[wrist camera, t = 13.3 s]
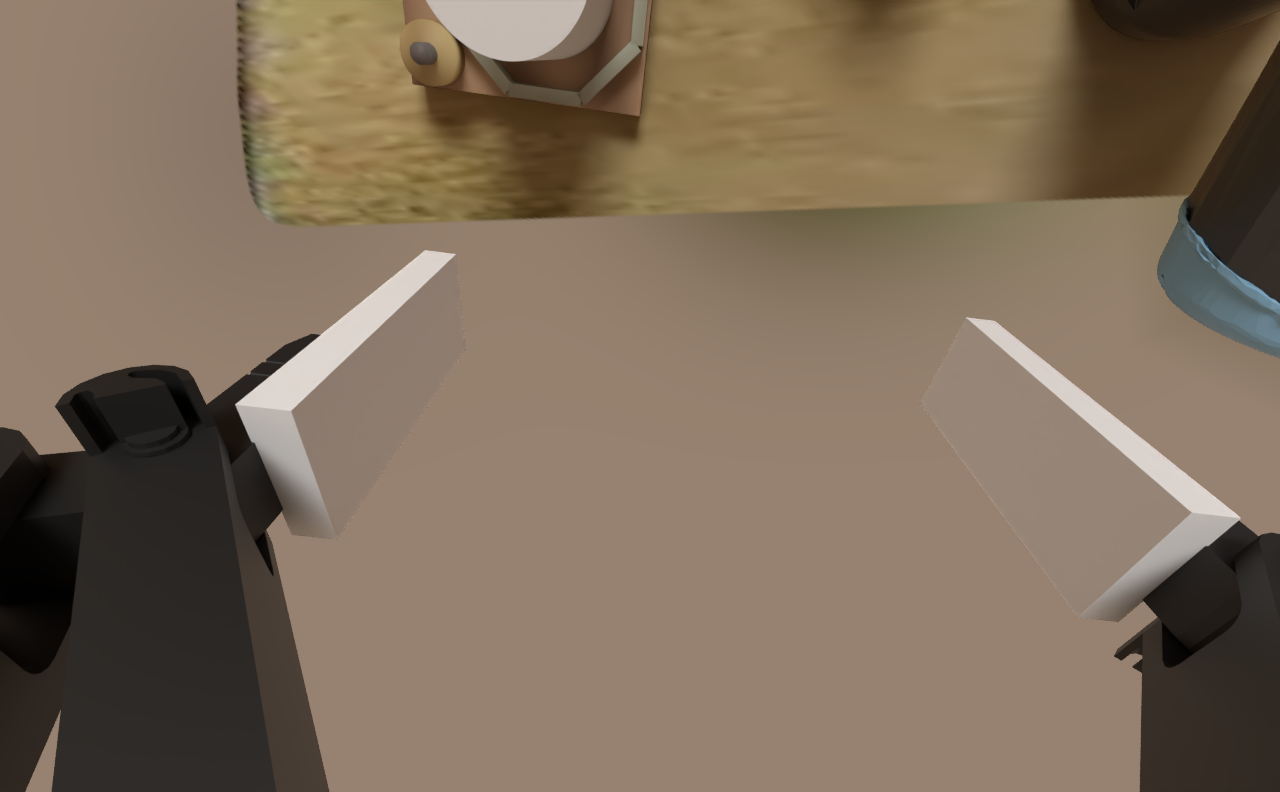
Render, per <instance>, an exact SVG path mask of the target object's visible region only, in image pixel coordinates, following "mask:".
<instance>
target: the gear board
mask: <svg viewBox="0 0 1280 792" xmlns="http://www.w3.org/2000/svg"><path fill="white" fill-rule="evenodd" d="M403 7H404V16H405V24H406V26H405V28H404V29H403V31H402V33H401V37H400V52H401V57H402V60H403V62H404V64H405V66H406V68H407V69H408V71H409V72H410V73H411V75H412V82H413V84H415V85H422V86H429V87H436V88H443V89H451V90H458V91H465V92H472V93H479V94H486V95H493V96H500V97H507V98H514V99H521V100H528V101H535V102H542V103H550V104H557V105H564V106H571V107H578V108H585V109H592V110H599V111H606V112H613V113H620V114H627V115H634V116H640V113H641V103H642V94H643V84H644V75H645V65H646V56H647V46H648V37H649V27H650V18H651V8H652V0H613V4H612V8H611V12H610V15H609V18H608V21H607V23H606V25H605V27H604V29H603V31H602V32H601V34H600V35H599V37H598V38H597V39H596V40H595V42H594V43H593V44H592V45H591V46H590V47H588V48H587V49H586V50H585V51H583V52H581V53H580V54H578V55H576V56H573V57H570V58H566V59H559V60H536V61H502V60H497V59H493V58H490V57H487V56H484V55H482V54H480V53H478V52H476V51H474V50H472V49H471V48H469V47H468V46H466V45H465V44H463V43H462V42H461V41H459V40H458V39H457V38H456V37H455V36H453V35H452V34H451V33H450V32H449V31H448V30H447V29H446V27H445V26H444V25H443V24H442V23H441V22H440V20H439V19H438V18H437V17H436V15H435V14H434V12H433V11H432V9H431V8H430V6H429V5H428V3H427V1H426V0H403Z"/></svg>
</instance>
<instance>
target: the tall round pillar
mask: <svg viewBox="0 0 1280 792" xmlns="http://www.w3.org/2000/svg"><path fill="white" fill-rule="evenodd" d="M426 1H427V3H428V5H429V6H430V8H431V9H432V11H433V12H434V14H435V15H436V17H437V18H438V19H439V20H440V22H441V23H442V24H443V25H444V26H445V27H446V29H447V30H448V31H449V32H450V33H451V34H452V35H453V36H455V37H456V38H457V39H458V40H459V41H461V42H462V43H463V44H465V45H466V46H468V47H469V48H471V49H472V50H474V51H476V52H478V53H480V54H482V55H484V56H487V57H490V58H493V59H497V60H502V61H536V60H559V59H566V58H570V57H573V56H576V55H578V54H580V53H581V52H583V51H585V50H586V49H587V48H588V47H590V46H591V45H592V44H593V43H594V42H595V40H596V39H597V38H598V37H599V35H600V34H601V32H602V31H603V29H604V27H605V25H606V23H607V21H608V18H609V15H610V12H611V8H612V4H613V0H426Z"/></svg>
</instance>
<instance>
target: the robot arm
mask: <svg viewBox="0 0 1280 792" xmlns="http://www.w3.org/2000/svg"><path fill="white" fill-rule="evenodd" d="M1092 2H1093V4H1094V6H1095V8H1096V9H1097V11H1098V13H1099V14H1100V15H1101V17H1102V18H1103V19H1104V20H1105V21H1106V22H1107V23H1108V24H1109V25H1110V26H1111V27H1113V28H1114V29H1115V30H1117V31H1119V32H1120V33H1122V34H1125V35H1127V36H1130V37H1133V38H1137V39H1142V40H1153V41H1160V40H1185V39H1194V38H1201V37H1205V36H1210V35H1214V34H1218V33H1222V32H1225V31H1228V30H1231V29H1234V28H1236V27H1239V26H1241V25H1244V24H1246V23H1249V22H1252V21H1254V20H1257V19H1259V18H1262V17H1264V16H1267V15H1269V14H1272V13H1274V12H1277V11H1279V10H1280V0H1092ZM1178 220H1179V221H1178V223H1177V225H1176V227H1175V229H1174V231H1173V233H1172V235H1171V237H1170V239H1169V241H1168V243H1167V245H1166V247H1165V249H1164V251H1163V253H1162V255H1161V257H1160V260H1159V263H1158V268H1157V275H1158V279H1159V282H1160V284H1161V286H1162V288H1163V289H1164V290H1165V293H1166V295H1167V296H1168V298H1169V299H1170V300H1171V301H1172V302H1173V303H1174V304H1175V305H1176V306H1177V307H1178V308H1180V309H1181V310H1182V311H1183V312H1184V313H1186V314H1187V315H1189V316H1190V317H1191V318H1193V319H1194V320H1196V321H1198V322H1199V323H1201V324H1203V325H1204V326H1206V327H1208V328H1210V329H1211V330H1213V331H1216V332H1217V333H1219V334H1221V335H1223V336H1225V337H1228V338H1230V339H1232V340H1234V341H1236V342H1239V343H1241V344H1243V345H1246V346H1248V347H1250V348H1253V349H1255V350H1258V351H1260V352H1264V353H1266V354H1269V355H1271V356H1274V357H1277V358H1280V41H1279V42H1278V44H1277V46H1276V48H1275V49H1274V51H1273V53H1272V55H1271V57H1270V58H1269V60H1268V62H1267V64H1266V66H1265V67H1264V69H1263V71H1262V73H1261V74H1260V76H1259V78H1258V80H1257V82H1256V83H1255V85H1254V87H1253V89H1252V90H1251V92H1250V94H1249V96H1248V97H1247V99H1246V101H1245V103H1244V104H1243V106H1242V108H1241V109H1240V111H1239V113H1238V115H1237V116H1236V118H1235V120H1234V122H1233V123H1232V125H1231V127H1230V128H1229V130H1228V132H1227V134H1226V135H1225V137H1224V139H1223V141H1222V142H1221V144H1220V146H1219V147H1218V149H1217V151H1216V153H1215V154H1214V156H1213V158H1212V160H1211V161H1210V163H1209V165H1208V166H1207V168H1206V170H1205V172H1204V173H1203V175H1202V177H1201V179H1200V180H1199V182H1198V184H1197V185H1196V187H1195V189H1194V191H1193V192H1192V193H1191V194H1190V196H1189V197H1187V198H1186V199H1185V200H1184V202H1183V203H1182V204H1181V207H1180V209H1179V215H1178ZM464 352H465V339H464V330H463V319H462V310H461V300H460V290H459V280H458V271H457V260H456V254H450V253H441V252H434V251H424V252H423V253H421V254H420V255H419V256H418V257H416V258H415V259H414V260H413V261H412V262H410V263H409V264H408V265H407V266H405V267H404V268H403V269H402V270H401V271H399V272H398V273H397V274H396V275H394V276H393V277H392V278H391V279H389V280H388V281H387V282H386V283H384V284H383V285H382V286H381V287H380V288H378V289H377V290H376V291H375V292H373V293H372V294H371V295H370V296H368V297H367V298H366V299H365V300H363V301H362V302H361V303H360V304H359V305H357V306H356V307H355V308H354V309H352V310H351V311H350V312H349V313H348V314H346V315H345V316H344V317H343V318H341V319H340V320H339V321H338V322H337V323H335V324H334V325H333V326H331V327H330V328H329V329H328V330H326V331H325V332H324V333H323V334H322V335H317V334H310V335H308V336H306V337H303V338H301V339H298V340H296V341H293V342H291V343H289V344H286V345H284V346H283V347H282V348H281V349H279V350H278V351H277V352H275V353H274V354H273V355H271V356H270V357H269V358H267V359H266V362H262V363H261V364H259V365H258V366H257V367H256V368H254V369H253V370H252V371H251V374H250V375H248V374H247V375H245V376H244V377H242V378H241V379H240V380H238V381H237V382H236V383H234V384H233V385H232V386H231V387H229V388H228V389H227V390H225V391H224V392H223V393H222V394H220V395H219V396H217V397H216V398H215V399H214V400H212V401H211V402H210V403H208V404H207V405H206V403H205V401H204V399H203V397H202V395H201V393H200V391H199V388H198V386H197V384H196V382H195V380H194V378H193V377H192V375H191V374H190V373H189V371H188V370H185V369H181V368H178V367H176V366H164V365H149V366H141V367H131V368H126V369H122V370H118V371H114V372H110V373H106V374H103V375H100V376H98V377H95V378H93V379H90V380H88V381H85V382H83V383H80V384H79V385H77V386H76V387H74V388H73V389H71V390H70V391H68V392H66V393H65V394H64V395H63V396H62V397H61V398H60V400H59V401H58V403H57V404H56V406H55V407H56V409H57V410H58V411H59V413H60V414H61V416H62V417H63V419H64V420H65V421H66V423H67V424H68V426H69V427H70V429H71V430H72V431H73V433H74V434H75V436H76V437H77V439H78V440H79V442H80V443H81V445H82V446H83V447H84V449H85V450H86V451H79V452H68V453H57V454H46V455H39V454H38V453H37V452H36V450H35V449H34V448H33V446H32V445H31V444H30V443H29V441H28V440H27V439H26V438H25V436H24V435H23V434H22V433H21V432H20V431H17V430H12V429H8V428H3V427H1V428H0V792H25V791H26V788H27V786H28V784H29V781H30V779H31V777H32V774H33V772H34V770H35V768H36V765H37V763H38V761H39V758H40V756H41V754H42V751H43V749H44V747H45V745H46V742H47V740H48V738H49V735H50V733H51V731H52V728H53V726H54V724H55V721H56V719H57V717H58V715H59V712H60V710H61V715H60V723H59V732H58V741H57V749H56V758H55V767H54V776H53V784H52V785H53V786H52V792H329V789H328V784H327V780H326V775H325V771H324V767H323V762H322V758H321V754H320V749H319V745H318V740H317V736H316V732H315V727H314V723H313V719H312V714H311V710H310V706H309V702H308V697H307V693H306V688H305V684H304V680H303V675H302V671H301V666H300V663H299V658H298V654H297V649H296V645H295V640H294V637H293V632H292V627H291V623H290V619H289V614H288V610H287V606H286V601H285V597H284V592H283V588H282V584H281V579H280V575H279V571H278V567H277V562H276V558H275V553H274V549H273V545H272V542H271V540H270V537H269V535H268V533H267V531H266V529H267V528H268V527H269V526H270V525H271V523H272V522H273V521H274V520H275V519H276V517H277V516H278V515H279V514H280V513H281V511H282V513H283V515H284V518H285V520H286V522H287V525H288V527H289V529H290V532H291V534H292V535H299V536H308V537H317V538H328V539H336V540H337V539H338V538H339V536H340V535H341V533H342V532H343V530H344V529H345V527H346V526H347V524H348V523H349V522H350V520H351V518H352V517H353V516H354V514H355V513H356V511H357V510H358V508H359V507H360V505H361V504H362V502H363V501H364V499H365V498H366V496H367V495H368V493H369V492H370V490H371V489H372V488H373V486H374V485H375V483H376V482H377V480H378V478H379V477H380V475H381V474H382V473H383V471H384V470H385V468H386V467H387V465H388V464H389V462H390V461H391V459H392V458H393V456H394V455H395V454H396V452H397V451H398V449H399V448H400V446H401V445H402V443H403V442H404V440H405V439H406V437H407V436H408V434H409V433H410V431H411V430H412V428H413V427H414V425H415V424H416V423H417V421H418V420H419V418H420V416H421V415H422V414H423V412H424V411H425V409H426V408H427V406H428V405H429V403H430V402H431V400H432V399H433V397H434V396H435V394H436V393H437V392H438V390H439V388H440V387H441V386H442V384H443V383H444V381H445V379H446V378H447V377H448V375H449V374H450V372H451V371H452V369H453V368H454V366H455V365H456V363H457V362H458V360H459V359H460V358H461V356H462V355H463V353H464ZM920 405H921V406H922V407H923V409H924V410H925V411H926V413H927V414H928V415H929V417H930V418H931V419H932V421H933V422H934V424H935V425H936V426H937V428H938V429H939V430H940V432H941V433H942V434H943V436H944V437H945V438H946V440H947V441H948V443H949V444H950V445H951V447H952V448H953V449H954V451H955V452H956V453H957V455H958V456H959V457H960V459H961V460H962V462H963V463H964V464H965V466H966V467H967V468H968V470H969V471H970V473H971V474H972V475H973V477H974V478H975V479H976V481H977V482H978V483H979V485H980V486H981V487H982V489H983V490H984V492H985V493H986V494H987V496H988V497H989V498H990V500H991V501H992V502H993V504H994V505H995V506H996V508H997V509H998V511H999V512H1000V513H1001V515H1002V516H1003V517H1004V519H1005V520H1006V521H1007V523H1008V524H1009V525H1010V526H1011V528H1012V530H1013V531H1014V532H1015V534H1016V535H1017V536H1018V538H1019V539H1020V540H1021V542H1022V543H1023V544H1024V546H1025V547H1026V548H1027V550H1028V551H1029V552H1030V554H1031V555H1032V557H1033V558H1034V559H1035V561H1036V562H1037V563H1038V565H1039V566H1040V567H1041V569H1042V570H1043V572H1044V573H1045V574H1046V576H1047V577H1048V578H1049V580H1050V581H1051V582H1052V584H1053V585H1054V587H1055V588H1056V589H1057V591H1058V592H1059V593H1060V595H1061V596H1062V597H1063V599H1064V600H1065V601H1066V603H1067V604H1068V606H1069V607H1070V608H1071V610H1072V611H1073V612H1074V614H1075V615H1076V616H1077V617H1078V618H1086V619H1097V620H1105V621H1115V622H1119V621H1120V620H1121V619H1122V618H1123V617H1125V616H1126V615H1127V614H1128V613H1130V611H1132V610H1133V609H1134V608H1135V607H1137V606H1138V605H1139V604H1140V603H1141V602H1143V601H1144V602H1145V603H1146V604H1147V605H1148V606H1149V608H1150V609H1151V610H1152V611H1153V612H1154V613H1155V614H1156V616H1157V618H1156V619H1155V620H1154V621H1152V622H1151V623H1150V624H1148V625H1147V626H1146V627H1145V628H1143V629H1142V630H1141V631H1140V632H1139V633H1137V634H1136V635H1135V636H1133V637H1132V638H1131V639H1130V640H1128V641H1127V642H1126V643H1125V644H1123V645H1122V646H1121V647H1120V648H1118V649H1117V651H1116V653H1115V655H1114V657H1116V658H1118V659H1120V660H1123V659H1124V658H1126V657H1127V656H1128V655H1129V654H1134V653H1137V654H1140V655H1142V659H1141V660H1140V661H1139V662H1137V663H1136V664H1135V665H1133V668H1135V669H1137V670H1138V671H1140V672H1141V673H1142V706H1141V762H1140V792H1280V534H1276V533H1267V534H1262V535H1260V536H1257V535H1256V534H1255V533H1254V532H1252V531H1251V530H1250V529H1249V528H1247V527H1246V526H1245V525H1244V524H1242V523H1241V522H1240V521H1239V520H1240V519H1241V518H1240V517H1239V516H1238V515H1237V514H1235V513H1234V512H1233V511H1232V510H1230V509H1229V508H1228V507H1227V506H1225V505H1224V504H1223V503H1222V502H1220V501H1219V500H1218V499H1217V498H1215V497H1214V496H1213V495H1212V494H1210V493H1209V492H1208V491H1207V490H1205V489H1204V488H1203V487H1202V486H1200V485H1199V484H1198V483H1196V482H1195V481H1194V480H1193V479H1192V478H1190V477H1189V476H1188V475H1187V474H1185V473H1184V472H1183V471H1181V470H1180V469H1179V468H1178V467H1177V466H1175V465H1174V464H1173V463H1172V462H1170V461H1169V460H1168V459H1167V458H1165V457H1164V456H1163V455H1162V454H1160V453H1159V452H1158V451H1157V450H1155V449H1154V448H1153V447H1152V446H1150V445H1149V444H1148V443H1147V442H1145V441H1144V440H1143V439H1142V438H1140V437H1139V436H1138V435H1137V434H1135V433H1134V432H1133V431H1132V430H1130V429H1129V428H1128V427H1127V426H1125V425H1124V424H1123V423H1122V422H1120V421H1119V420H1118V419H1116V418H1115V417H1114V416H1113V415H1112V414H1110V413H1109V412H1108V411H1107V410H1105V409H1104V408H1103V407H1101V406H1100V405H1099V404H1098V403H1096V402H1095V401H1094V400H1093V399H1092V398H1090V397H1089V396H1088V395H1087V394H1085V393H1084V392H1083V391H1082V390H1080V389H1079V388H1078V387H1076V386H1075V385H1074V384H1073V383H1072V382H1070V381H1069V380H1068V379H1067V378H1065V377H1064V376H1063V375H1062V374H1060V373H1059V372H1058V371H1057V370H1055V369H1054V368H1053V367H1052V366H1050V365H1049V364H1048V363H1047V362H1045V361H1044V360H1043V359H1042V358H1040V357H1039V356H1038V355H1037V354H1035V353H1034V352H1033V351H1031V350H1030V349H1029V348H1028V347H1027V346H1025V345H1024V344H1023V343H1022V342H1020V341H1019V340H1018V339H1017V338H1015V337H1014V336H1013V335H1012V334H1010V333H1009V332H1008V331H1006V330H1005V329H1004V328H1003V327H1002V326H1000V325H999V324H998V323H997V322H995V321H991V320H983V319H974V318H967V317H966V318H965V320H964V322H963V324H962V326H961V328H960V330H959V331H958V333H957V335H956V337H955V339H954V341H953V342H952V345H951V346H950V348H949V350H948V352H947V354H946V356H945V357H944V359H943V361H942V363H941V365H940V367H939V369H938V370H937V372H936V374H935V376H934V378H933V380H932V382H931V383H930V385H929V387H928V389H927V391H926V393H925V395H924V397H923V398H922V400H921V402H920Z"/></svg>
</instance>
